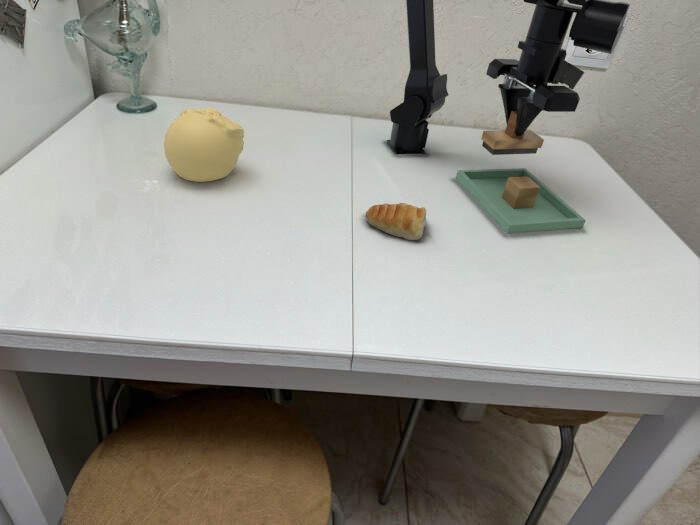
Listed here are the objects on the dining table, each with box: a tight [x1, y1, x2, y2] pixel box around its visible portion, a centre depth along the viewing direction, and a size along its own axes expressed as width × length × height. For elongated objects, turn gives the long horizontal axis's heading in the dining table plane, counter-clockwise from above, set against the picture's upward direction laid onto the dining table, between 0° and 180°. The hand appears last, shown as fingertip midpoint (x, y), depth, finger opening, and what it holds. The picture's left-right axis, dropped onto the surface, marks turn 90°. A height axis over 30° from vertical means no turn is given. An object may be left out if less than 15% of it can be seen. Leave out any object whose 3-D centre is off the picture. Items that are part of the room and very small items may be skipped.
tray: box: [455, 167, 586, 234], centre depth 86 cm, size 15×19×2 cm
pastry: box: [365, 202, 427, 241], centre depth 76 cm, size 9×7×4 cm
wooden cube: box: [502, 177, 541, 209], centre depth 85 cm, size 4×4×4 cm
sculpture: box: [163, 107, 245, 183], centre depth 80 cm, size 12×12×11 cm
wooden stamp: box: [480, 111, 545, 156], centre depth 87 cm, size 10×4×7 cm, turn 107°
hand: (514, 132), depth 87 cm, fingers closed on wooden stamp, 2 cm apart
